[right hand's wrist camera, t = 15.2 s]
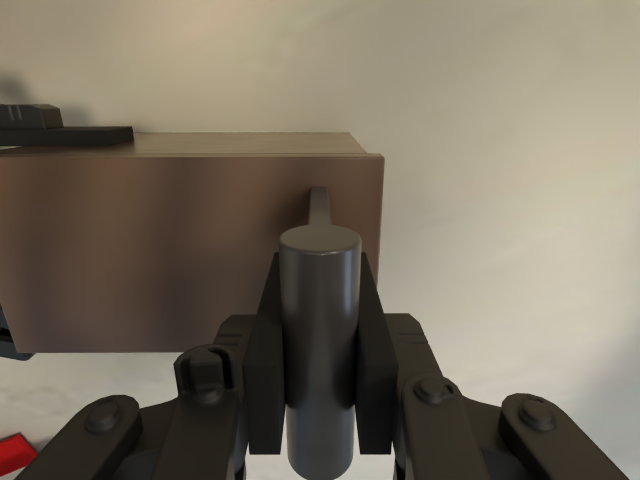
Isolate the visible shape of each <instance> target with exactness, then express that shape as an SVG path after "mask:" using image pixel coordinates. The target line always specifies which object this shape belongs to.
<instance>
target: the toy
mask: <svg viewBox="0 0 640 480" xmlns="http://www.w3.org/2000/svg"><path fill="white" fill-rule="evenodd" d="M36 455H37V453H36V452H35V451H34V450H33V449H32V448H31V447H30V446H29V445H28V444H27V442H26V441H25V440H24V439H23V438H22V437H21V436H20V435H19V434H17V435H15V436H13V437H10V438H8V439H6V440H4V441H2V442H0V480H14V479H15V477H16V476H17V475H18V474H19V473H20V472H21V471H22V470H23V469H24V468H25V467H26V466H27V465H28V464H29V463H30V462H31V461H32V460H33V459H34V458H35V457H36Z"/></svg>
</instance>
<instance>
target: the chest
mask: <svg viewBox="0 0 640 480" xmlns="http://www.w3.org/2000/svg"><path fill="white" fill-rule="evenodd" d="M133 135H134V140H133V141H128V142H124V143H119V144H115V145H110V146H22V147H16V148H9V149H3V150H0V155H11V154H367V152H366V151H365V150H364V149H363V148H362V147H361V146H360V145H359V143H358V142H357V141H356V140H355V139H354V138H353V137H352V136H351V134H350V133H133Z"/></svg>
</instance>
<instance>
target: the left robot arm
mask: <svg viewBox="0 0 640 480" xmlns="http://www.w3.org/2000/svg"><path fill="white" fill-rule="evenodd" d="M133 140H134V135H133V129H132V127H63V122H62V118H61V114H60V109H59V108H57V107H54V106H51V105H49V104H46V105H5V104H0V146H110V145H115V144H119V143H124V142H128V141H133ZM34 354H36V353H18V352H17V350H16V347H15V344H14V341H13V339H12V336H11V333H10V330H9V327H8V324H7V321H6V318H5V315H4V312H3V309H2V306H1V303H0V357H5V358H11V359H16V360H21V361H26V360H29V359H30V358H31V357H32V356H33V355H34Z"/></svg>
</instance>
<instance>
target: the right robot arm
mask: <svg viewBox="0 0 640 480" xmlns="http://www.w3.org/2000/svg"><path fill="white" fill-rule="evenodd" d="M173 365H174V371H175V377H176V383H177V389H178V397H177V398H175V399H173V400H171V401H168V402H164V403H161V404H157V405H153V406H149V407H145V408H140V409H139V404H138V402H137V401H136V400H135V399H134V398H133V397H130V396H127V395H111V396H108V397H104V398H101V399H98V400H96V401H94V402H92V403H90V404H88V405H87V406H85V407H84V408H83V409H82V410H80V411H79V412H78V413H77V414H76V415H75V416H74V417H73V418H72V419H71V420H70V421H69V422H68V423H67V424H66V425H65V426H64V427H63V428H62V429H61V430H60V431H59V432H58V433H57V434H56V436H55V437H54V438H53V439H52V440H51V441H50V442H49V443H48V444H47V445H46V446H45V447H44V448H43V449H42V450H41V451H40V452H39V453H38V454H37V455H36V457H35V458H34V459H33V460H32V461H31V462H30V463H29V464H28V465H27V466H26V467H25V468H24V469H23V470H22V471H21V472H20V473H19V474H18V475H17V476H16V477H15V479H14V480H246V465H245V455H246V451H247V446H248V442H249V453H250V455H280V452H281V443H282V434H283V425H284V416H285V407H286V396H285V372H284V348H283V323H282V312H281V289H280V265H279V252H275V253H274V256H273V260H272V263H271V266H270V270H269V273H268V277H267V280H266V283H265V287H264V290H263V293H262V297H261V300H260V304H259V307H258V310H257V314H256V315H231V316H230V317H228V318H227V319H226V320H225V321H224V322H223V323H221V325H220V328H219V330H218V332H217V334H216V337H215V339H214V341H213V344H205V345H199V346H196V347H194V348H191V349H189V350H187V351H186V352H184V353H183V354H181V355H180V356H179V357H178V358H177V360H176V361H175V362H174V364H173ZM355 413H356V421H357V430H358V439H359V448H360V454H391V446H392V442H393V447H394V452H395V465H394V476H393V480H629V479H628V478H627V477H626V476H625V474H624V473H623V472H622V471H621V470H620V469H619V468H618V467H617V466H616V465H615V464H614V463H613V462H612V461H611V460H610V459H609V458H608V457H607V456H606V455H605V454H604V453H603V452H602V451H601V449H600V448H599V447H598V446H597V445H596V444H595V443H594V442H593V441H592V440H591V439H590V438H589V437H588V436H587V435H586V434H585V433H584V432H583V431H582V430H581V429H580V428H579V427H578V426H577V424H576V423H575V422H574V421H573V420H572V419H571V418H570V417H569V416H568V415H567V414H566V413H565V412H564V411H562V410H561V409H560V408H559V407H558V406H556V405H555V404H553V403H552V402H550V401H548V400H546V399H544V398H542V397H538V396H535V395H531V394H524V393H516V394H512V395H509V396H507V397H506V398H505V399H504V401H503V402H502V406H501V407H498V406H494V405H490V404H485V403H481V402H478V401H474V400H471V399H469V398H467V397H465V396H463V395H462V394H461V392H460V390H459V389H458V387H457V386H456V385H455V384H454V383H453V382H451V381H450V380H449V379H447V378H445V377H443V375H442V373H441V370H440V368H439V366H438V364H437V361H436V359H435V357H434V355H433V352H432V350H431V348H430V345H429V344H428V341H427V339H426V336H425V335H424V332H423V330H422V327H421V325H420V323H419V322H418V321H417V320H416V319H415V318H413V317H412V316H411V315H410V314H409V313H384V312H383V309H382V306H381V302H380V299H379V295H378V292H377V289H376V285H375V282H374V279H373V275H372V272H371V268H370V265H369V262H368V258H367V255H366V252H361V267H360V293H359V318H358V333H357V357H356V382H355Z"/></svg>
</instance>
